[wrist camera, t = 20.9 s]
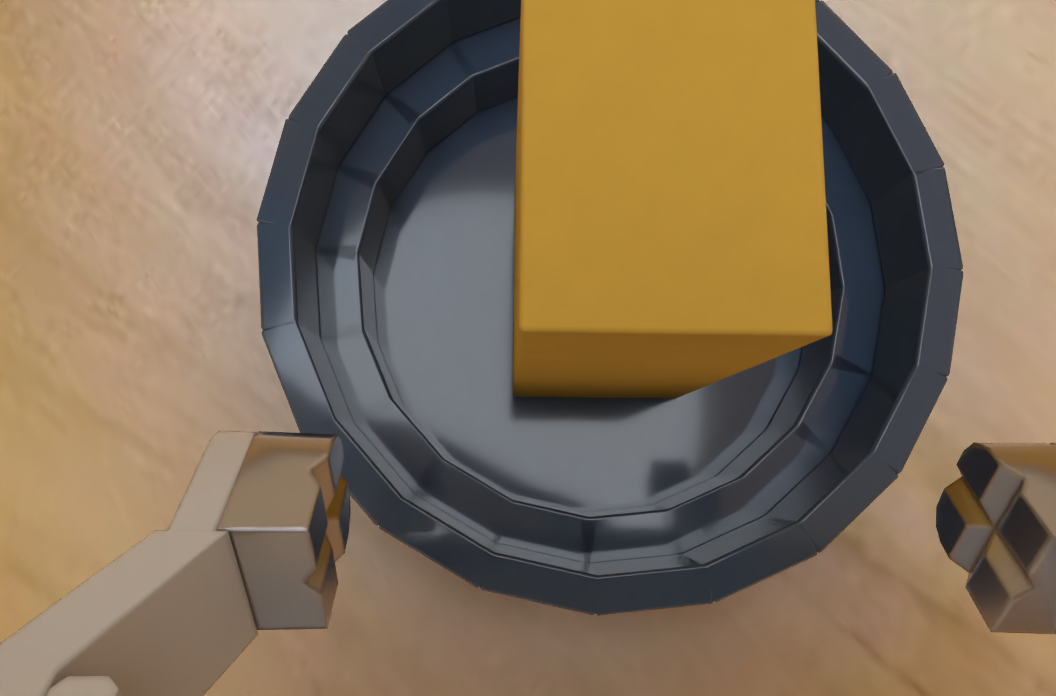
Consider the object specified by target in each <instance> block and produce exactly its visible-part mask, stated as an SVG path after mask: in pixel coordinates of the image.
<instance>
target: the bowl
mask: <svg viewBox="0 0 1056 696" xmlns="http://www.w3.org/2000/svg"><path fill="white" fill-rule="evenodd" d="M815 8H816V27H817V46H818V65H819V84H820V102H821V121H822V140H823V159H824V177H825V196H826V215H827V234H828V253H829V271H830V290H831V309H832V328H833V331H832V334H831V335H830V336H827V337H825V338H822V339H820V340H817V341H815V342H812V343H810V344H808V345H805V346H803V347H800V348H798V349H795V350H793V351H791V352H788V353H786V354H783V355H781V356H778V357H776V358H773V359H771V360H769V361H766V362H764V363H761V364H759V365H756V366H754V367H751V368H749V369H747V370H744V371H742V372H739V373H737V374H734V375H732V376H730V377H727V378H725V379H722V380H720V381H717V382H715V383H712V384H710V385H708V386H705V387H703V388H700V389H698V390H695V391H693V392H691V393H688V394H686V395H683V396H681V397H678V398H601V397H516V396H514V395H513V393H512V388H513V304H514V221H515V168H516V138H517V108H518V78H519V48H520V18H521V0H387V1H386V2H385V3H384V4H382V5H381V6H380V7H378V8H377V9H376V10H375V11H373V12H372V13H371V14H369V15H368V16H367V17H365V18H364V19H363V20H362V21H360V22H359V23H358V24H356V25H355V26H354V27H352V28H351V29H350V30H349V31H348V35H347V34H346V35H345V36H344V37H343V38H342V40H341V41H340V43H339V44H338V46H337V47H336V48H335V50H334V51H333V53H332V54H331V56H330V57H329V59H328V60H327V62H326V63H325V64H324V66H323V67H322V69H321V70H320V72H319V73H318V75H317V76H316V77H315V79H314V80H313V82H312V83H311V85H310V86H309V88H308V89H307V91H306V92H305V93H304V95H303V96H302V98H301V99H300V101H299V102H298V104H297V105H296V106H295V108H294V109H293V111H292V112H291V114H290V115H289V119H286V121H285V125H284V128H283V131H282V135H281V138H280V142H279V145H278V149H277V152H276V155H275V159H274V162H273V166H272V169H271V173H270V176H269V179H268V183H267V186H266V190H265V193H264V197H263V200H262V204H261V207H260V210H259V214H258V217H257V221H258V222H259V223H258V225H257V237H258V261H259V284H260V307H261V328H262V330H263V331H262V336H263V338H264V341H265V343H266V346H267V349H268V351H269V354H270V356H271V359H272V361H273V364H274V367H275V369H276V372H277V374H278V377H279V379H280V382H281V385H282V387H283V390H284V392H285V395H286V397H287V400H288V403H289V405H290V408H291V410H292V413H293V415H294V418H295V421H296V423H297V426H298V428H299V431H300V433H312V434H337V435H338V436H339V437H340V438H341V442H342V447H343V453H344V460H343V464H342V468H341V472H340V475H341V476H342V477H343V478H344V479H346V480H347V481H348V486H349V493H350V495H351V496H352V497H353V499H354V500H355V501H356V502H357V503H358V505H359V506H360V507H361V508H362V509H363V511H364V512H365V513H366V514H367V515H368V517H369V518H370V519H371V520H372V521H373V523H374V524H375V525H377V526H378V525H379V528H380V529H381V530H383V531H385V532H386V533H388V534H389V535H391V536H393V537H394V538H396V539H398V540H399V541H401V542H403V543H404V544H406V545H407V546H409V547H411V548H412V549H414V550H416V551H417V552H419V553H421V554H422V555H424V556H425V557H427V558H429V559H430V560H432V561H434V562H435V563H437V564H439V565H440V566H442V567H443V568H445V569H447V570H448V571H450V572H452V573H453V574H455V575H457V576H458V577H460V578H461V579H463V580H465V581H466V582H468V583H470V584H471V585H473V586H475V587H477V588H479V587H480V589H482V590H485V591H489V592H493V593H498V594H502V595H507V596H511V597H515V598H520V599H524V600H529V601H533V602H537V603H542V604H546V605H551V606H555V607H559V608H564V609H568V610H573V611H577V612H581V613H586V614H590V615H595V614H596V615H609V614H618V613H628V612H637V611H647V610H656V609H666V608H675V607H685V606H695V605H704V604H711V603H713V601H714V602H718V601H720V600H722V599H724V598H726V597H728V596H730V595H733V594H735V593H737V592H739V591H741V590H743V589H745V588H748V587H750V586H752V585H754V584H756V583H758V582H760V581H763V580H765V579H767V578H769V577H771V576H773V575H775V574H778V573H780V572H782V571H784V570H786V569H788V568H790V567H793V566H795V565H797V564H799V563H801V562H803V561H806V560H808V559H810V558H812V557H814V556H816V555H817V552H818V553H819V552H821V551H822V550H824V549H825V548H826V547H827V546H828V545H829V544H830V543H831V542H832V541H833V540H834V539H835V538H836V537H837V536H838V535H839V534H840V533H841V532H842V531H843V530H844V529H845V528H846V527H847V526H848V525H849V524H850V523H851V522H852V521H853V520H854V519H855V518H856V517H857V516H859V515H860V514H861V513H862V512H863V511H864V510H865V509H866V508H867V507H868V506H869V505H870V504H871V503H872V502H873V501H874V500H875V499H876V498H877V497H878V496H879V495H880V494H881V493H882V492H883V491H884V490H885V489H886V488H887V487H888V486H889V485H890V484H891V483H892V482H893V481H895V480H896V479H897V477H898V474H899V473H900V472H901V471H902V469H903V467H904V465H905V463H906V461H907V459H908V457H909V455H910V453H911V451H912V449H913V447H914V445H915V443H916V441H917V439H918V437H919V435H920V433H921V431H922V429H923V427H924V425H925V423H926V421H927V419H928V417H929V415H930V413H931V411H932V409H933V407H934V405H935V403H936V401H937V399H938V397H939V395H940V393H941V391H942V389H943V387H944V385H945V383H946V381H947V377H946V376H948V375H949V374H950V367H951V360H952V352H953V345H954V338H955V330H956V323H957V316H958V308H959V301H960V293H961V286H962V279H963V271H961V270H962V269H963V264H962V259H961V254H960V248H959V243H958V237H957V232H956V227H955V221H954V216H953V210H952V205H951V200H950V194H949V189H948V183H947V178H946V173H945V169H944V167H943V166H944V163H943V161H942V159H941V157H940V155H939V153H938V151H937V150H936V148H935V146H934V144H933V142H932V140H931V138H930V136H929V135H928V133H927V131H926V129H925V127H924V125H923V123H922V121H921V120H920V118H919V116H918V114H917V112H916V110H915V108H914V106H913V105H912V103H911V101H910V99H909V97H908V95H907V93H906V91H905V90H904V88H903V86H902V84H901V82H900V80H899V78H898V76H897V75H896V73H894V74H892V73H893V72H892V70H891V69H890V68H889V67H888V66H887V65H886V64H885V63H884V62H883V61H882V60H881V59H880V58H879V57H878V56H877V55H876V54H875V53H874V52H873V51H872V50H871V49H870V48H869V47H868V46H867V45H866V44H865V43H864V42H863V41H862V40H861V39H860V38H859V37H858V36H857V35H856V34H855V33H854V32H853V31H852V30H851V29H850V28H849V27H848V26H847V25H846V24H845V23H844V22H843V21H842V20H841V19H840V18H839V17H838V16H837V15H836V14H835V13H834V12H833V11H832V10H831V9H830V8H829V7H828V6H827V5H826V4H825V3H824V2H823V1H819V0H815Z"/></svg>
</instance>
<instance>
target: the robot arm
mask: <svg viewBox="0 0 1056 696" xmlns="http://www.w3.org/2000/svg"><path fill="white" fill-rule="evenodd" d="M343 460H344V453H343V447H342V442H341V438H340V437H339V436H338V435H337V434H312V433H285V432H258V433H257V432H235V431H218V432H217V433H216V434H215V435H214V436H213V437H212V438H211V439H210V440H209V442H208V444H207V446H206V449H205V451H204V453H203V455H202V457H201V459H200V461H199V464H198V466H197V468H196V470H195V472H194V474H193V476H192V479H191V481H190V483H189V485H188V487H187V489H186V491H185V494H184V496H183V498H182V500H181V502H180V504H179V506H178V509H177V511H176V513H175V515H174V517H173V519H172V521H171V524H170V526H169V528H168V530H155V531H153V532H152V533H151V534H149V535H148V536H146V537H145V538H144V539H142V540H141V541H140V542H138V543H137V544H136V545H134V546H133V547H131V548H130V549H129V550H127V551H126V552H125V553H123V554H122V555H120V556H119V557H118V558H116V559H115V560H114V561H112V562H111V563H109V564H108V565H107V566H105V567H104V568H103V569H101V570H100V571H98V572H97V573H96V574H94V575H93V576H92V577H90V578H89V579H87V580H86V581H85V582H83V583H82V584H81V585H79V586H78V587H77V588H75V589H74V590H72V591H71V592H70V593H68V594H67V595H66V596H64V597H63V598H61V599H60V600H59V601H57V602H56V603H55V604H53V605H52V606H50V607H49V608H48V609H46V610H45V611H44V612H42V613H41V614H39V615H38V616H37V617H35V618H34V619H33V620H31V621H30V622H28V623H27V624H26V625H24V626H23V627H22V628H20V629H19V630H18V631H16V632H15V633H13V634H12V635H11V636H9V637H8V638H7V639H5V640H4V641H2V642H1V643H0V696H203V695H204V694H205V693H206V692H207V691H208V690H209V689H210V687H211V686H212V685H213V684H214V683H215V682H216V681H217V680H218V678H219V677H220V676H221V675H222V674H223V673H224V672H225V671H226V670H227V668H228V667H229V666H230V665H231V664H232V663H233V662H234V661H235V659H236V658H237V657H238V656H239V655H240V654H241V653H242V652H243V651H244V649H245V648H246V647H247V646H248V645H249V644H250V643H251V642H252V640H253V639H254V638H255V637H256V636H257V635H258V631H257V630H279V629H325V628H328V625H329V621H330V617H331V612H332V608H333V603H334V599H335V594H336V590H337V586H338V579H337V573H336V567H335V562H336V561H337V560H338V559H339V558H340V557H341V556H342V555H343V554H344V553H345V549H346V544H347V539H348V533H349V522H350V493H349V486H348V481H347V480H346V479H344V478H343V477H342V476H341V475H340V472H341V468H342V464H343ZM957 466H958V469H959V471H960V473H961V475H962V477H961V478H959V479H958V480H956V481H955V482H953V483H952V484H950V485H949V486H947V487H946V488H945V489H944V491H943V493H942V495H941V498H940V500H939V502H938V504H937V507H936V528H937V531H938V535H939V539H940V542H941V544H942V546H943V548H944V550H945V552H946V553H947V555H948V557H949V559H951V560H952V561H953V562H955V563H956V564H957V565H959V566H960V567H962V568H963V569H964V570H966V571H967V572H968V573H969V575H968V579H967V583H966V589H967V591H968V593H969V594H970V596H971V598H972V600H973V601H974V603H975V605H976V607H977V608H978V610H979V612H980V614H981V615H982V617H983V619H984V621H985V622H986V624H987V626H988V628H989V629H990V631H991V632H1004V633H1034V634H1056V443H1050V444H1047V443H973V444H972V445H970V446H969V447H968V448H967V449H965V450H964V451H963V453H962V455H961V457H960V459H959V461H958V463H957Z"/></svg>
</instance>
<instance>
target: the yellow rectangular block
mask: <svg viewBox="0 0 1056 696" xmlns="http://www.w3.org/2000/svg"><path fill="white" fill-rule="evenodd" d="M832 331H833V328H832V309H831V290H830V271H829V253H828V234H827V215H826V196H825V177H824V159H823V140H822V121H821V102H820V84H819V65H818V46H817V27H816V8H815V0H521V18H520V48H519V78H518V108H517V138H516V168H515V221H514V304H513V388H512V393H513V395H514V396H516V397H601V398H678V397H681V396H683V395H686V394H688V393H691V392H693V391H695V390H698V389H700V388H703V387H705V386H708V385H710V384H712V383H715V382H717V381H720V380H722V379H725V378H727V377H730V376H732V375H734V374H737V373H739V372H742V371H744V370H747V369H749V368H751V367H754V366H756V365H759V364H761V363H764V362H766V361H769V360H771V359H773V358H776V357H778V356H781V355H783V354H786V353H788V352H791V351H793V350H795V349H798V348H800V347H803V346H805V345H808V344H810V343H812V342H815V341H817V340H820V339H822V338H825V337H827V336H830V335H831V334H832Z"/></svg>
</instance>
